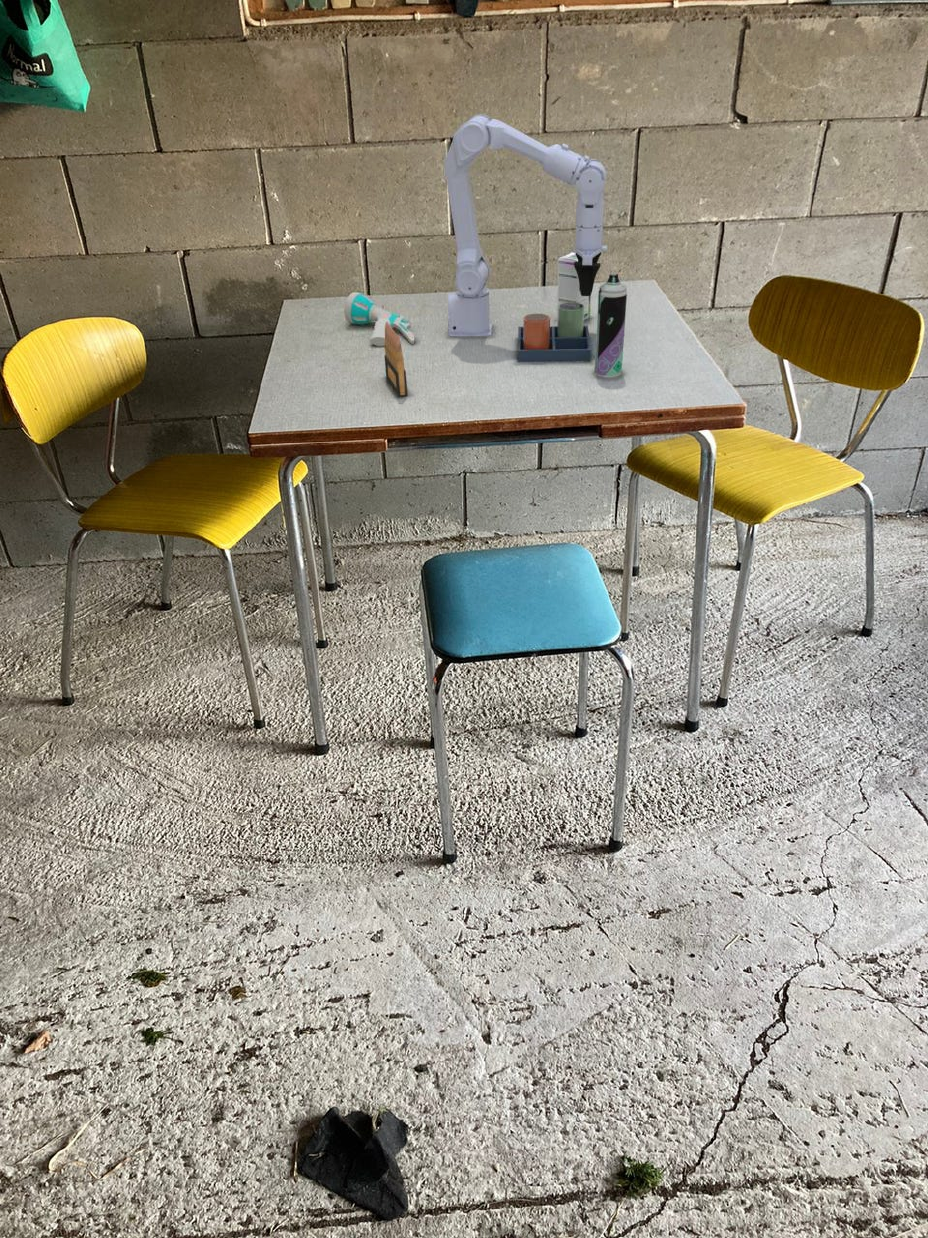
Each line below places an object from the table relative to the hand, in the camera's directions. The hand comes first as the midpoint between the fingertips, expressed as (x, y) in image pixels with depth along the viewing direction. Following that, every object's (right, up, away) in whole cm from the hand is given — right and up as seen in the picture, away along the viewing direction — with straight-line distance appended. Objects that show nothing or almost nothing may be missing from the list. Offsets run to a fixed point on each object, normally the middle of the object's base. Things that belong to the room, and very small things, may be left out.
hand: (586, 290), depth 206 cm
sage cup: (-4, -11, +1) cm, 12 cm away
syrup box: (-1, -2, +15) cm, 15 cm away
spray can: (+3, -22, -14) cm, 26 cm away
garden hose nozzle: (-46, -5, +13) cm, 48 cm away
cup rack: (-7, -14, -2) cm, 16 cm away
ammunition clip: (-41, -25, -15) cm, 50 cm away
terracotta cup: (-11, -15, -5) cm, 20 cm away
